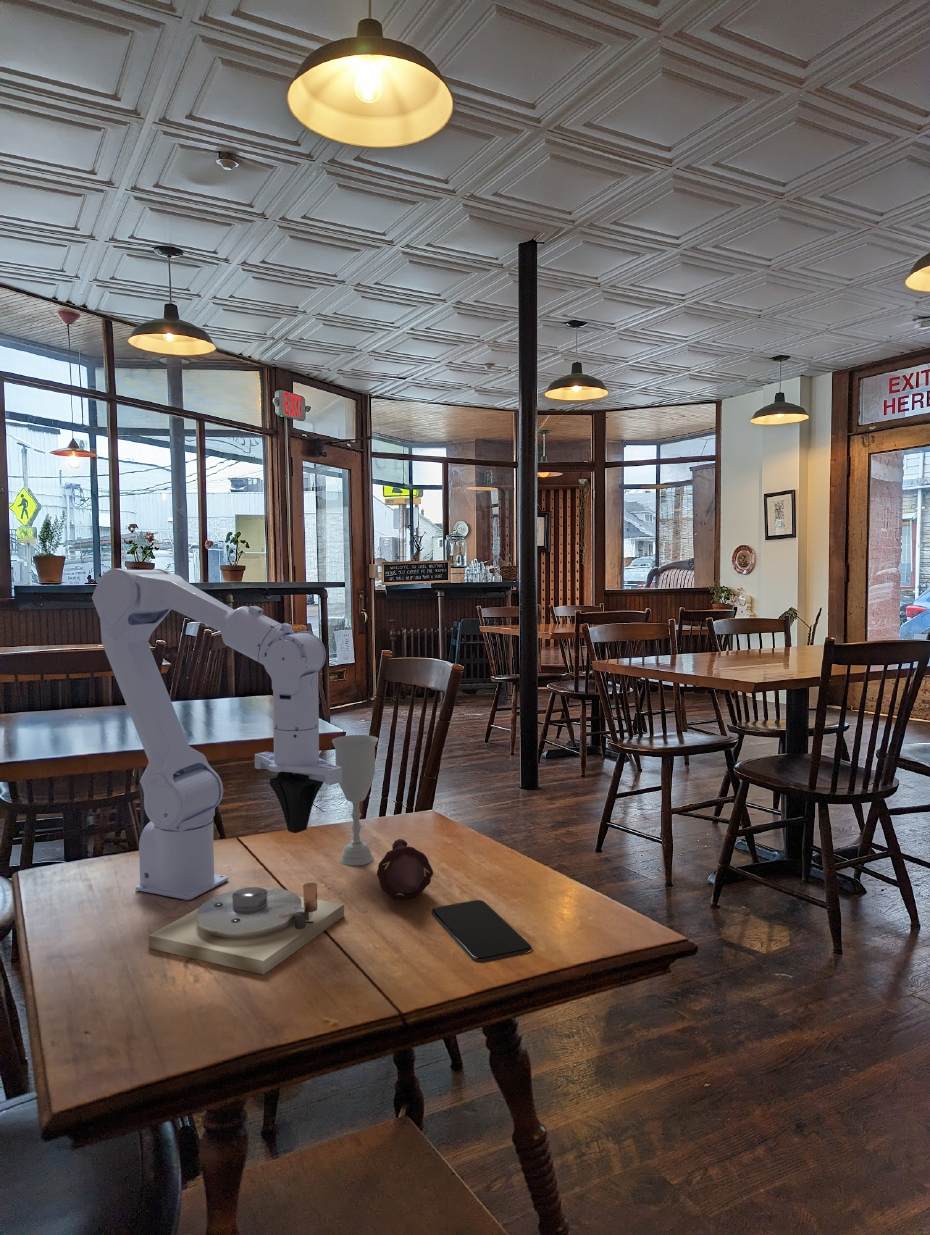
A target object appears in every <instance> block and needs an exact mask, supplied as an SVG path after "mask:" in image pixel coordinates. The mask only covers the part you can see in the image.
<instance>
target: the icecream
mask: <svg viewBox="0 0 930 1235" xmlns="http://www.w3.org/2000/svg"><path fill="white" fill-rule="evenodd" d="M391 847H392V849H390V850H389V851H386V853H385V855H384V857H383V858H382V859H381V861H379V863H378V865H377V866H378V868H377V870H376V876H377V879H378V881H379V886H380V888H381V891H382V892H383V893H384V894H386V895H388V896H390V897H393V898H394V899H396V900H398V901H403V900H406V899H408V900H409V899H416V898H418V897H419V896H420V895H422V893H423V891H425V889H426V888H427V887H428V886H429V885H430V884H431V882H432V880H431V879H432V877H433V875H434V871H433V867H432V866H431V864H430V861H429V859H428V857H427V855H426V854H425V853H424V852H421V851H420V850H417V849H416V848H415V847H413V846H410V845H409V846H408V842H407V841H406V840H405V839H403V838H402V839H401V838H398V839H396V840H394V842H393V844H392V846H391Z"/></svg>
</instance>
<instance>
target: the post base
mask: <svg viewBox="0 0 930 1235" xmlns="http://www.w3.org/2000/svg"><path fill="white" fill-rule="evenodd" d="M243 888H249V886H244V885H238V886H236V887H235V888H233V889H231V890H229V891H228V892H231V891H235V890H240V889H243ZM298 896H299V897H300V899H301V902H302V908H304V899H303V896H300V895H298ZM317 907H318V909H317V910H316V911H314V912H312V918H311V919H310V920H309V921H306V919H305V913H304V912H299V913H296V914H295V922H293V923H292V924H290V925H289V926H287V927H285V928H283V929H280V930H277V931H274V932H271V933H267V934H263V935H258V936H251V937H238V938H233V937H221V936H215V935H211V934H209V933H206V932H204V931H203V930H201V929H200V928H199V926H198V924H197V911H198V909H199V908H200V907H198V908H196V909H195V910H193V911H192V910H191V912H189V913H186V914H185V915H183V916H181V917H180V918H178V919H176V920H173V921H171V922H170V923H169V924H167V925H164V926H163V927H161V928H159V929H158V930H155V931H153V932H152V933H150V934H149V935H148V948H149V949H152V950H156V951H159V952H165V953H168V954H173V955H177V956H182V957H186V958H189V959H190V958H191V959H194V960H199V961H203V962H207V963H212V964H217V965H219V966H220V965H221V966H225V967H228V968H233V969H238V970H240V971H241V970H243V971H247V972H251V973H254V974H259V975H263V976H264V975H265V974H267V973H269V971H272V969H274V968H275V967H277V966H278V965H279V964H281V963H282V962H283V961H285V960H286V959H287V958H289V957H290V956H291V955H293V954H294V953H296V952H297V951H298V950H300V949H302V947H304V946H305V945H306V944H309V943H310V942H311V941H312V940H314V939H315V938H317V937H318V936H319V935H320V934H322V933H323V932H325V931H326V930H327V929H329V928H330V927H331V926H332V925H334V924H336V923H337V922H338V921H340V920H341V919H343V918H344V917H345V904H344V903H339V902H334V901H333V902H332V901H329V900H322V899H317Z"/></svg>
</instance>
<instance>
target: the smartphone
mask: <svg viewBox="0 0 930 1235" xmlns="http://www.w3.org/2000/svg"><path fill="white" fill-rule="evenodd" d="M430 912H431V915H432V916H433V918H434V919H435V920H436V921H437V922H438V924H440V926H441V927H442V928H443V929H444V930H445V931H446V933H447V934H448V935H449V936H450V937H451V938H452V939H453V941H455V942H456V944H457V945H458V946H459V947H460V948H461V949H462V951H463V952H465V954H466V955H467V956H468V958H470V960H471V961H473V962H475V963H486V962H491V961H496V959H497V960H501V959H503V958H504V957H508V956H509V957H508V958H510V956H511V957H515V956H514V955H516V956H519V955H518V954H521V953H526V952H528V951H530V950H532V951H533V946H532V945H531V943H529V942H528V941H527V940H526V939H525V938H524V937H523V936H522V935H521V934H520V933H519V932H518V931H517V930H515V929H514V928H513V927H512V926H511V925H510V924H509V923H508V922H507V921H506V920H505V919H503V917H502V916H500V915H499V914H498V913H497V912H496V911H495V910H494V909H493V908H492V906H490V905H489V904H488V903H486V901H484V900H482V899H475V900H474V899H473V900H469V901H468V900H467V901H465V902H459V903H458V902H457V903H452V904H447V905H440V906H436V907H434V908H432V909H431V911H430ZM526 954H527V953H526ZM521 955H522V954H521Z"/></svg>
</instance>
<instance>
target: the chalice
mask: <svg viewBox="0 0 930 1235" xmlns="http://www.w3.org/2000/svg"><path fill="white" fill-rule="evenodd" d="M378 741H379V738H378V737H376V736H374V735H366V734H351V735H350V734H349V735H342V736H338V737H334V738H332V740H331V743H332V744H333V747H334V748H335V749H334V750H335V766H339V767H342V782H340V783H338V784H339V787H340V789H341V791H342V793H343V795H344V796H345V799H346V801H348V802H350V803H352V812H351V813H350V816H351V818H352V821H353V822H352V824H351V826H350V829H351V830H352V833H353V836H352V839H351V842H348V843H346V844H345V846H344V847H343V851H342V852H341V853H342V854H341V856H340V859H339V862H340V863H341V864H343V865H345V866H353V867H354V866H363V865H368V864H370V863H371V862H373V861H374V860H375V859H374V858H375V857H374V856H373V854H372V850H371V849H370V845H368V843H367V842H365V841H362V839H361V837H360V833H361V830H362V828H363V826H362V825H361V824H360V819H361V816H362V813H361V811H360V810H361V809H360V803H361V802H363V801H365V799H366V797H367V795H368V793H369V791H370V788H371V786H372V783H373V781H374V778H375V774H376V748H375V747H376V745H377V742H378Z"/></svg>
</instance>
